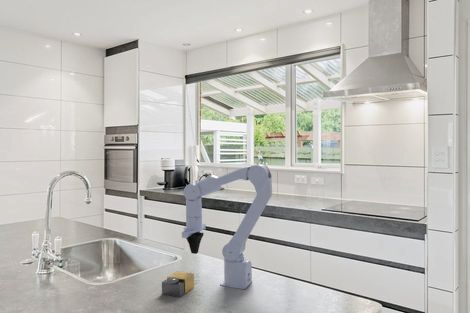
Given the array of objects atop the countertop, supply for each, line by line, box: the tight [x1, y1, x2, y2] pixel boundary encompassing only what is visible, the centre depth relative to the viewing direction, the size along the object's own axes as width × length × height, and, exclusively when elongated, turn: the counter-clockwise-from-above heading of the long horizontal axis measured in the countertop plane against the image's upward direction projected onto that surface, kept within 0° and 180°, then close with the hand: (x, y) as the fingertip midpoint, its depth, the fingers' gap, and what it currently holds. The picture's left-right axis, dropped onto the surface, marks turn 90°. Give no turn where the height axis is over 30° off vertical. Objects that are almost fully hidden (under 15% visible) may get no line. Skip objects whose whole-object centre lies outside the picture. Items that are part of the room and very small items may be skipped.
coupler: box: [161, 277, 185, 298], centre depth 124 cm, size 7×9×5 cm
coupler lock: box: [166, 271, 195, 295], centre depth 126 cm, size 7×6×5 cm
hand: (194, 253), depth 134 cm, fingers closed
